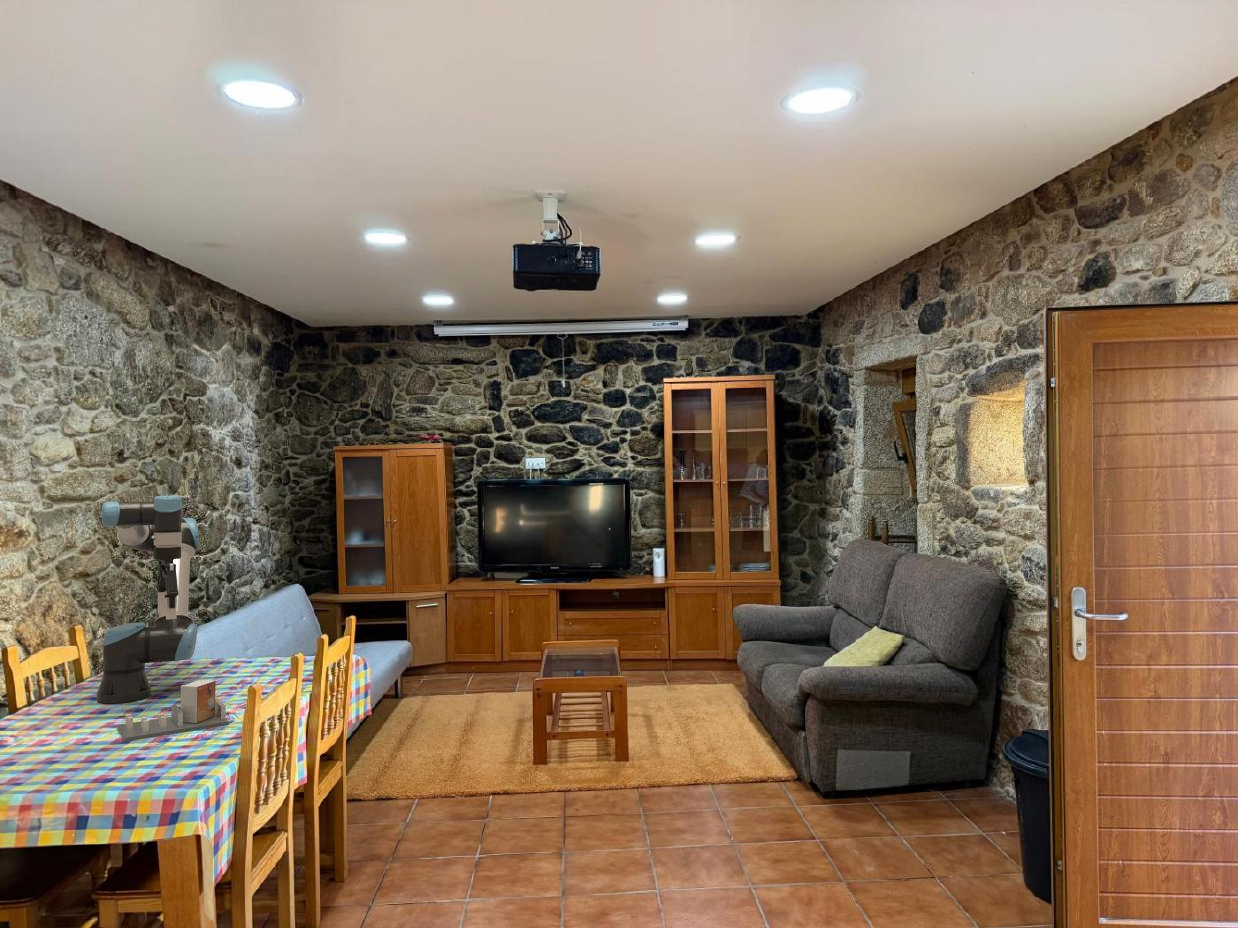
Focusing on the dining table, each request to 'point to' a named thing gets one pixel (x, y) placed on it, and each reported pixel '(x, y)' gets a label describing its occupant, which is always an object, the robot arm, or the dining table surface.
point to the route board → (161, 727)
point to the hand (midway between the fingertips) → (166, 616)
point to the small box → (198, 701)
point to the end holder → (178, 714)
